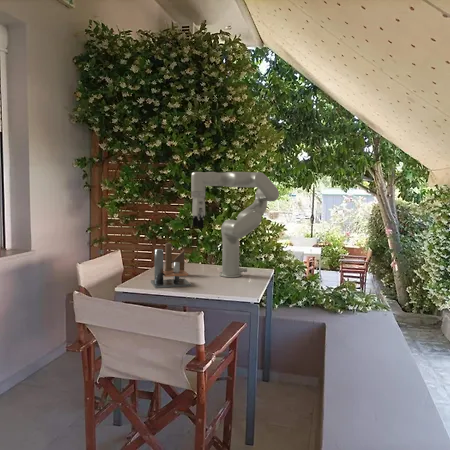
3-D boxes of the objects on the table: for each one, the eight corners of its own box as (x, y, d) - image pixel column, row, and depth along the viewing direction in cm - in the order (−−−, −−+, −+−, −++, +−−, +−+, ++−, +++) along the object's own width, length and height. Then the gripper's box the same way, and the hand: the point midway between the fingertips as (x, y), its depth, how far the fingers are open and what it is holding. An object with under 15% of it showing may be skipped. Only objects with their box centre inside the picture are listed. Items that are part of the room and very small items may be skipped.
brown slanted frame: (184, 275, 249) (184, 243, 247) (165, 275, 247) (165, 243, 246) (183, 274, 252) (184, 242, 251) (164, 274, 251) (164, 242, 249)
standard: (155, 288, 216) (155, 251, 215) (150, 282, 230) (150, 247, 228) (191, 286, 222) (191, 250, 221) (184, 280, 235) (184, 246, 234)
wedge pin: (178, 281, 228) (178, 262, 228) (180, 282, 226) (180, 263, 225) (173, 281, 228) (173, 262, 227) (174, 282, 225) (174, 263, 224)
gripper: (209, 195, 230) (209, 228, 231) (200, 194, 246) (200, 225, 248) (195, 195, 227) (195, 228, 229) (187, 194, 244) (187, 225, 245)
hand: (198, 226), depth 238 cm, fingers open, 9 cm apart
